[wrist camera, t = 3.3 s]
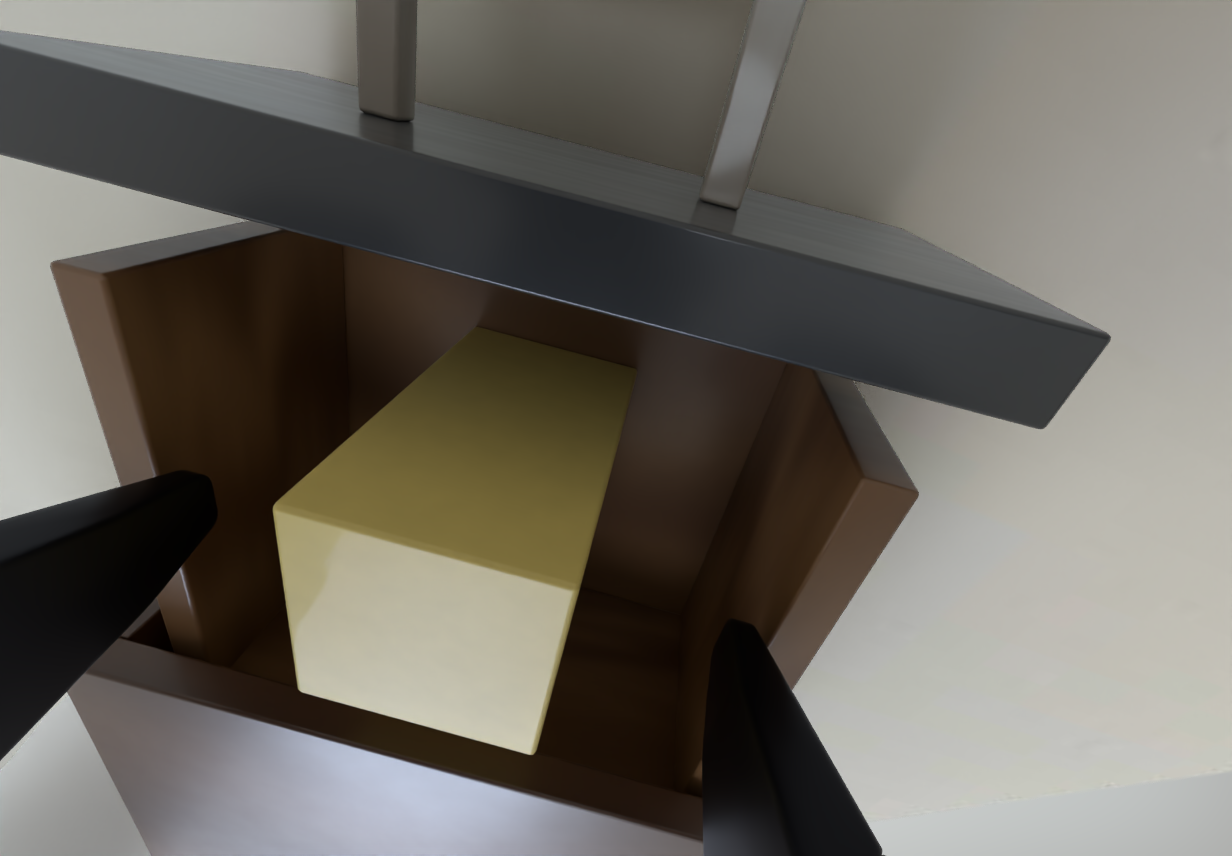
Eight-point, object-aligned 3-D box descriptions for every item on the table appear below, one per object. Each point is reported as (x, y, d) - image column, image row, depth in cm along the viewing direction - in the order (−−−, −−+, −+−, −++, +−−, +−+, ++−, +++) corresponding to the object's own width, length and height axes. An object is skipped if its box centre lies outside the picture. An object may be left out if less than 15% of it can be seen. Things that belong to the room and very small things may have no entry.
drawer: (281, -208, 9) (-414, -761, 4) (1022, -20, 9) (1572, -272, 3) (331, 510, 18) (149, 697, 12) (719, 615, 18) (727, 856, 12)
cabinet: (325, 435, 17) (48, 661, 10) (758, 551, 17) (800, 869, 10) (342, 682, 24) (185, 925, 17) (652, 767, 24) (631, 1051, 17)
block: (638, 367, 13) (579, 588, 7) (603, 498, 15) (534, 758, 9) (475, 324, 13) (269, 504, 7) (463, 460, 15) (295, 693, 9)
